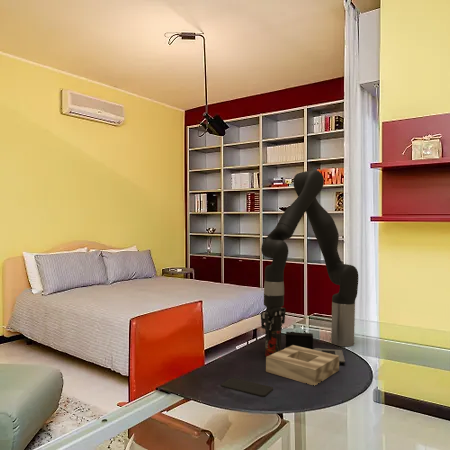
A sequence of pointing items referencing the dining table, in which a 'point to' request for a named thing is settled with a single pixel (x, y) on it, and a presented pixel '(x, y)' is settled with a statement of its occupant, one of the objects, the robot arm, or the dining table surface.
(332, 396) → the dining table surface
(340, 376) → the dining table surface
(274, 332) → the deodorant
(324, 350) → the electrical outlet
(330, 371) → the holder
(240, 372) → the dining table surface
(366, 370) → the dining table surface
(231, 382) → the phone
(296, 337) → the digital camera
